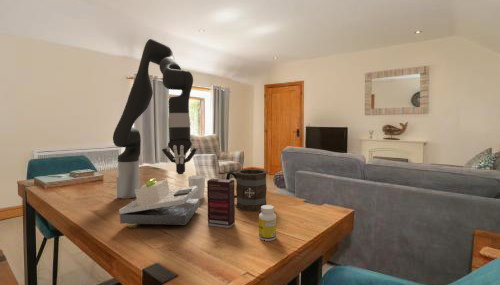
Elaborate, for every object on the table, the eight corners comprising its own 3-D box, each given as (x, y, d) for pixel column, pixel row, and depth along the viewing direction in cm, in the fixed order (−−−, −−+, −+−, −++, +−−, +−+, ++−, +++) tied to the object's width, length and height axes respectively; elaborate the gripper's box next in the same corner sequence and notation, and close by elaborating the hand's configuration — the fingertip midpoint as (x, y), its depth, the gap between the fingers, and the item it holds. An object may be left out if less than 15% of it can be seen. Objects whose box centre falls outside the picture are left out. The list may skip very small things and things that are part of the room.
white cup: (207, 195, 134) (206, 175, 133) (202, 200, 126) (202, 178, 125) (191, 195, 134) (191, 175, 134) (186, 199, 127) (185, 178, 126)
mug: (272, 204, 119) (273, 170, 118) (257, 213, 107) (257, 176, 106) (235, 198, 129) (235, 167, 128) (217, 205, 117) (217, 171, 116)
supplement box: (235, 223, 96) (235, 179, 95) (229, 228, 92) (229, 182, 91) (213, 220, 99) (213, 177, 98) (207, 225, 95) (206, 180, 93)
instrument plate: (120, 213, 91) (115, 189, 90) (145, 197, 111) (141, 177, 110) (184, 203, 89) (179, 179, 89) (198, 189, 109) (194, 168, 109)
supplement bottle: (257, 234, 87) (257, 204, 86) (274, 233, 88) (274, 204, 87) (259, 241, 82) (260, 209, 81) (277, 241, 82) (277, 209, 81)
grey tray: (120, 229, 91) (120, 214, 91) (146, 210, 111) (145, 198, 111) (185, 230, 90) (185, 215, 90) (199, 211, 110) (199, 199, 110)
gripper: (157, 126, 94) (159, 176, 95) (194, 125, 94) (196, 175, 95) (165, 126, 102) (166, 172, 103) (200, 125, 101) (201, 172, 102)
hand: (180, 173), depth 99 cm, fingers closed
